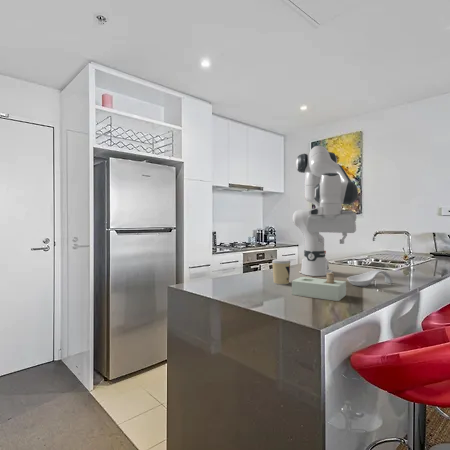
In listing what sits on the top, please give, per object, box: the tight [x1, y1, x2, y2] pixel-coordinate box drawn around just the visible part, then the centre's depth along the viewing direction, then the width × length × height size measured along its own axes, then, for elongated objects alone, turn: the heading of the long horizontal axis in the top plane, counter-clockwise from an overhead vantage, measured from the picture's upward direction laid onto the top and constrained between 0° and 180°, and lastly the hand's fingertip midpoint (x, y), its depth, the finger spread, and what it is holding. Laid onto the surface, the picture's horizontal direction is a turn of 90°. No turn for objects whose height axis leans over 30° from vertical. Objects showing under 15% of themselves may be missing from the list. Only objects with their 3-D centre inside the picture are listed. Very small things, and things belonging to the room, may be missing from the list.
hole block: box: [291, 276, 347, 302], centre depth 137 cm, size 12×20×6 cm, turn 55°
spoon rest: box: [346, 269, 394, 288], centre depth 158 cm, size 24×12×7 cm, turn 106°
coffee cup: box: [271, 258, 291, 286], centre depth 162 cm, size 9×9×12 cm
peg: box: [326, 272, 335, 284], centre depth 134 cm, size 3×3×10 cm
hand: (330, 243), depth 134 cm, fingers open, 8 cm apart
